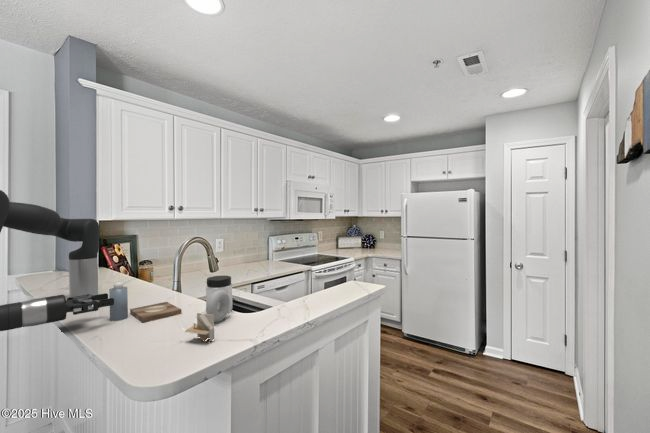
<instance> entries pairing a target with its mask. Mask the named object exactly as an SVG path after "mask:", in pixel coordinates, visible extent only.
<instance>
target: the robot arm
mask: <svg viewBox="0 0 650 433" xmlns="http://www.w3.org/2000/svg"><path fill="white" fill-rule="evenodd" d="M8 196H9V195H8V194H6V192H5V191H3V190H1V189H0V234H1V232H2V229H3V227H5V228H8V229H12V230H16V231H21V232H26V233H31V234H35V235H42V236H52V237H56V238H60V239H63V240H65V241H69V242H82V243H81V246H80V247H79V248H77V249H75V250H71V251H70V252H68V273H69V275H68V280H69V297H67V298H66V295H65V294H58V295H52V296H45V297H39V298H34V299H33V298H32V299H29V300H25V301H20V302H19V301H18V302H11V303H7V304H0V332H4V331H11V330H16V329H20V328H22V327H23V328H26V327H35V326H41V325H45V324H50V323H51V324H52V323H56V322H61V321H65V320H66V319H67V313H72V314H73V315H80V314H84V313H85V314H86V313H92V312H97V311H99V310H100V309H101V308H106V307H110V306H111V305H114V299H113V298H109V294H108V293H101V294H100V293H99V258H98V257H99V251H100V235H101V234H100V233H101V232H100V231H101V229H100V223H99V222H98V221H97V220H96V219H95V218H64V217H61V216H60V214H59V213H57V211H55V210H53V209H51V208H48V207H44V206H42V205H37V204H33V203H25V202H14V201H10V198H9V197H8Z"/></svg>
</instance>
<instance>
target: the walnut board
mask: <svg viewBox="0 0 650 433" xmlns="http://www.w3.org/2000/svg"><path fill="white" fill-rule="evenodd" d="M129 313H130V315H132V316H133V317H134V318H136V319H137V320H139V321H140V322H141V323H149V322H151V321H155V320H161V319H165V318H169V317H173V316H177V315H182V308H180V307H179V306H176V305H174V304H172V303H170V302H168V301H164V302H158V303H153V304H149V305H145V306H138V307H135V308H130V309H129Z"/></svg>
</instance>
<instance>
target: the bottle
mask: <svg viewBox="0 0 650 433" xmlns="http://www.w3.org/2000/svg"><path fill="white" fill-rule="evenodd" d="M108 293H109V294H108V299H109V298H113V299H114V305H111V306H109V321H110V322H117V321H123V320H126V319H128V318H129V311H128V310H129V309H128V308H129V306H128V305H129V304H128V300H129V299H128V287H127V286H124V281H116V282H113V288H109V292H108Z"/></svg>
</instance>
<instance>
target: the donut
mask: <svg viewBox="0 0 650 433" xmlns="http://www.w3.org/2000/svg"><path fill="white" fill-rule="evenodd" d="M218 303H219V308H218V310H217V306H218ZM229 307H230V298H229V296H228V294H227V293H226V292H225V291H223V290H217V291H215V292H213V293H212V294H211V296H210V297H209V299H208V301H207V304H206V303H205V314H210V315H214V323H218V322H219V323H220V322H221V321H223V319H225V317H226V316H228V314H229V313H228V311H229ZM227 313H228V314H227Z"/></svg>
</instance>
